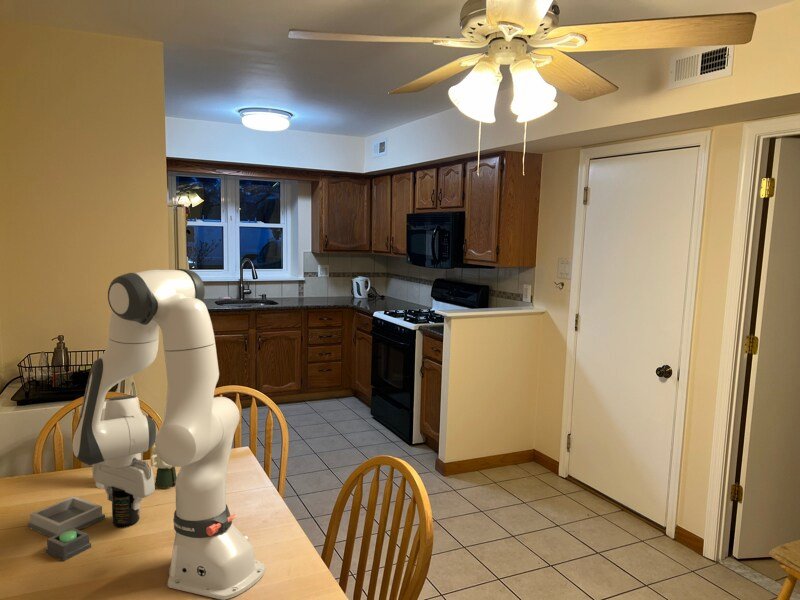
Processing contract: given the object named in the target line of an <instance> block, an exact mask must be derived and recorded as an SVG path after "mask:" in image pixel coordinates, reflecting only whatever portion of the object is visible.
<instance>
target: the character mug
mask: <svg viewBox="0 0 800 600" xmlns="http://www.w3.org/2000/svg"><path fill="white" fill-rule="evenodd" d="M152 447H153V450H152V452H153V454H152V455H151V456H150V467H154V468H157V469H156V474H155V475H156V476H155V482H154V484H155V487H159V488H160V489H166V488H167V489H168V488H172V487H173V483H174V486H176V478H177V472H176V467H174V466H170V465H168V464H166V463H165V462H164V461H162V460H161V458H160V457H159V456H158V454H157V451H156V448H155V444H153V446H152Z"/></svg>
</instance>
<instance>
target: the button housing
mask: <svg viewBox="0 0 800 600" xmlns="http://www.w3.org/2000/svg"><path fill="white" fill-rule="evenodd" d="M66 531H76V533H77V538H75V539H73V540H71V541H69V542H67V543H63V542H61V541H60V538H59V536H60V534H62V533H64V532H66ZM66 531H64V532H62V533H59V534H57V535H55V536H53V537H49V538H47V539H46V546H47V547H46V548H45V551H44V552H45V554H47V555H49V556H52V557H53V558H55V559H58V560H60V561H62V562H65V561H67V560H69V559H71V558H73V557H75V556H77V555H79V554H81V553H83V552H85V551H86V550H89V549H91V548H92V543H91V542H90V534H89V533H86V532H84V531H83V530H77V529H75V528H70V529H68V530H66Z"/></svg>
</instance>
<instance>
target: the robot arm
mask: <svg viewBox="0 0 800 600" xmlns="http://www.w3.org/2000/svg"><path fill="white" fill-rule="evenodd" d="M205 293H206V292H205V283H204V282H203V280H202V278H201V276H200V275H199V274H198V273H197V272H195V271H193V270H192V269H191V270H190V269H185V268H177V269H157V268H156V269H149V270H142V271H138V272H128V273H124V274H121V275H119V276H116V277H114V278H113V280H112V281H111V282H110V284H109V287H108V289H107V300H108V304H109V307H110V309H111V312H110V318H109V324H108V325H109V326H108V327H109V329H108V342H107V346H106V349H105V351H104V352H103V353H102V355H101V356H100V358H99V357H98V358H97V359H96V360H94V361H93V362H92V365H91V368H90V371H89V373H88V378H87V381H86V386H85V391H84V395H83V400H82V405H81V409H80V414H79V419H78V422H77V426H76V428H75V431H74V436H73V439H72V453H73V455H74V458H75V459H76V460H78V461H80V462H81V463H83V464H85V465H88V466H91V467H92V478H93V480H94V482H95V483H96V482H97V483H100V484H103V485H104V488H103V489H104V491H105V493H106V495H107V501H109V502H112V494H111V487H112V486H113V487H116V488H119V489H122V490H125V492H126V493H129V494H132V495H133V498H135V500H134V502H132V503H131V509H134V510H137V509H139V510H140V508H141V502H142V500H143V499H144V498H146V497H149V496H152V495H153V494H154V492H155V490H156V489H155V488H156V484H155V474H154V471H153V469H152V466H151V465H150V464H149V463H148V461H146V460H142V453H145V452H148V451H150V450H151V448H152V447H153V446H154V445H155V448H156V451H157V454H158V456H159V457H160V458H161V460H162V461H164V462H165V463H166V464H168V465H170V466H174V467H175V468H180V469H179V471H178V473H177V474H176V477H177V478H176V485H175V510H174V513H173V521H172V522H173V529H174V532H175V533H174V534H175V536H174V540H173V545H172V546H173V547H172V555H171V562H170V565H169V568H168V574H169V577H168V579H167V587H168V588H170V589H174V590H177V591H183V592H186V593H191V594H195V595H201V596H204V597H209V598H214V599H217V600H229V599H232V598H234V597H236V596H239V595H241V594H243V593H244V592H246V591H247V590H249V589H251V587H253V586H254V585H255V584H256V583H257V582H258V581H260V579H262V577H263V576H264V575H265V573H266V565H265V564H264V563H263V562H261V560H258V559H257V558H256V555H255V549H254V546H253V545H252V543H251V542H250V541H249V537H248V535H245V534H244V535H243V534H242V533H241V531H240V530H239V529H238V528H237V527H236V526H235V525H234V524H233V520H234V519H236V517H235V516H236V514H235V513H233V514H231V513H230V510H229V507H228V504H227V474H228V472H227V471H228V466H229V461H230V457H231V453H232V447H233V446H232V445H233V441H234V436H235V432H236V430H237V427H238V425H239V422H240V421H241V420H240V419H241V416H240V410H239V408H238V406H237V405H236V403H235V402H234V401H233V400H232V399H230V398H228V397H225V396H216V397H215V390H216V386H217V384H218V382H219V378H220V370H219V362H218V354H217V346H216V339H215V332H214V329H213V328H214V327H213V323H212V320H211V316H210V313H209V311H208V308H207V306H206V303H205V302H203V301H204V299H205ZM160 330H161V336H162V345H163V352H164V353H163V354H164V362H165V371H166V380H167V385H166V387H167V391H166V401H165V407H164V415H163V420H162V421H161V425H160V427H159V431H158V432H157V431H156V430H157V425H156V421H155V420H154V419H152V418H151V417H149V416H148V415H146V414H143V412H142V410H141V406H140V400H139V397H138V396H136V395H135V394H132V395H131V394H128V395H118V396H113V397H111V398H109V399H107V400H106V396H107V394H108V392H109V391H110V390H111V389H112V388H113V387H114V386H116V385H117V384H119V383H120V382H123V381H124V380H126V379H128V378H131V377H134V376H136V375H138V374H140V373H142V372H143V371H145V370H146V369H148V368H149V367H150V366H151V365H152V364H153V363H154V361H155V360H156V358H157V355H158V350H159V343H160V340H159V339H160V332H159V331H160ZM105 400H106V401H105ZM104 402H106V407H105V415H104V421H100V419H101V415H102V410H103V406H104Z"/></svg>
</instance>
